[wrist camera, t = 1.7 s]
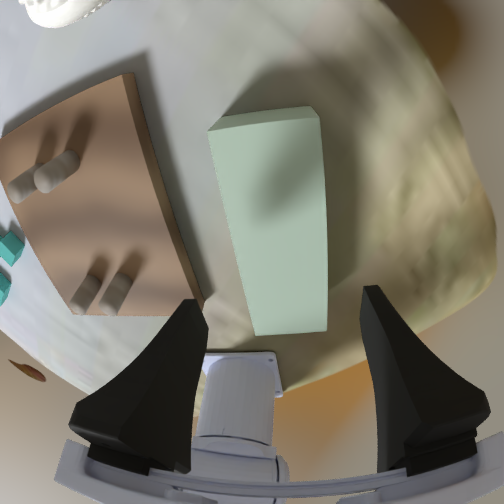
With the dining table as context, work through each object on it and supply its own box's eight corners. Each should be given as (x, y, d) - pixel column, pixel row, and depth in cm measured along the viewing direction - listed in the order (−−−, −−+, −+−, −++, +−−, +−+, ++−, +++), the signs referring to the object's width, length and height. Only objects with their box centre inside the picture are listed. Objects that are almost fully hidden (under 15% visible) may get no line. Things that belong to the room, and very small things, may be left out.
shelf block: (321, 291, 23) (326, 330, 20) (258, 296, 24) (255, 335, 20) (309, 105, 15) (319, 117, 12) (221, 116, 16) (206, 131, 12)
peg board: (204, 301, 24) (193, 345, 20) (79, 304, 26) (60, 336, 23) (133, 72, 14) (91, 80, 10) (0, 140, 16) (-37, 162, 12)
